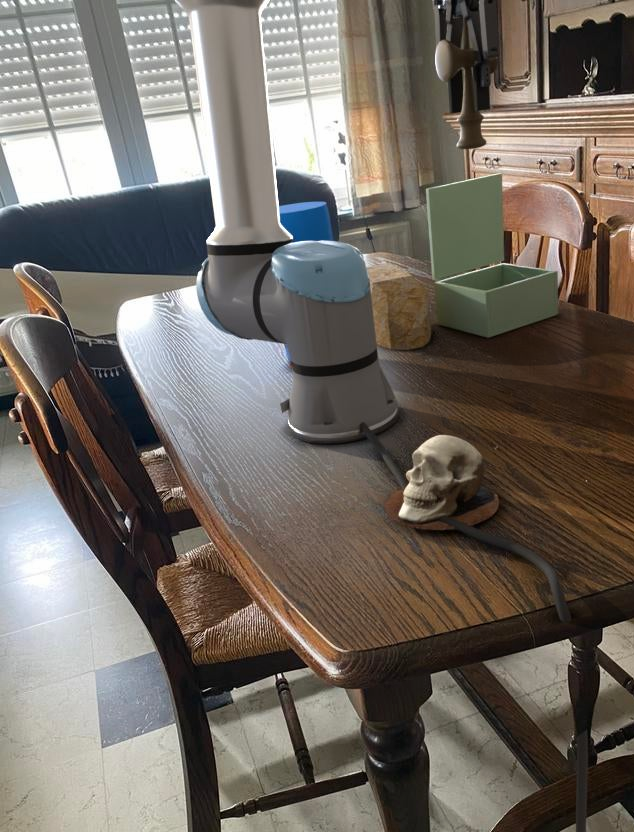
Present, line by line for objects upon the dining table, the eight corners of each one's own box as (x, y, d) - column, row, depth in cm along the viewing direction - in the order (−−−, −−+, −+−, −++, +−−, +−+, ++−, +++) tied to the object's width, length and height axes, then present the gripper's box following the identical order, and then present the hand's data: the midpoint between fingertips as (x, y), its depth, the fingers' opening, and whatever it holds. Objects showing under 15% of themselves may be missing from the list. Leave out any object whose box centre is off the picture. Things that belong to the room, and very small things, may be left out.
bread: (445, 341, 130) (441, 283, 125) (385, 354, 128) (378, 295, 123) (388, 300, 161) (382, 252, 156) (339, 309, 159) (332, 261, 154)
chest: (558, 314, 136) (557, 270, 132) (488, 338, 129) (485, 292, 125) (504, 303, 147) (502, 262, 143) (437, 324, 140) (433, 282, 136)
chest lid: (502, 173, 135) (480, 172, 140) (428, 189, 128) (408, 187, 132) (504, 260, 143) (483, 257, 147) (434, 280, 136) (415, 275, 140)
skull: (443, 544, 71) (387, 453, 72) (402, 572, 80) (353, 491, 81) (530, 493, 76) (477, 410, 78) (483, 525, 85) (436, 450, 87)
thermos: (293, 377, 123) (263, 217, 111) (284, 359, 132) (255, 209, 120) (357, 364, 125) (334, 205, 113) (343, 347, 134) (320, 199, 122)
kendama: (439, 152, 132) (430, 17, 122) (487, 145, 135) (481, 12, 125) (455, 152, 127) (447, 12, 117) (504, 145, 130) (500, 7, 120)
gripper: (521, -71, 111) (524, 105, 122) (442, -43, 126) (452, 112, 137) (482, -71, 108) (489, 110, 119) (406, -42, 122) (419, 117, 133)
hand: (469, 111), depth 128 cm, fingers closed on kendama, 6 cm apart
